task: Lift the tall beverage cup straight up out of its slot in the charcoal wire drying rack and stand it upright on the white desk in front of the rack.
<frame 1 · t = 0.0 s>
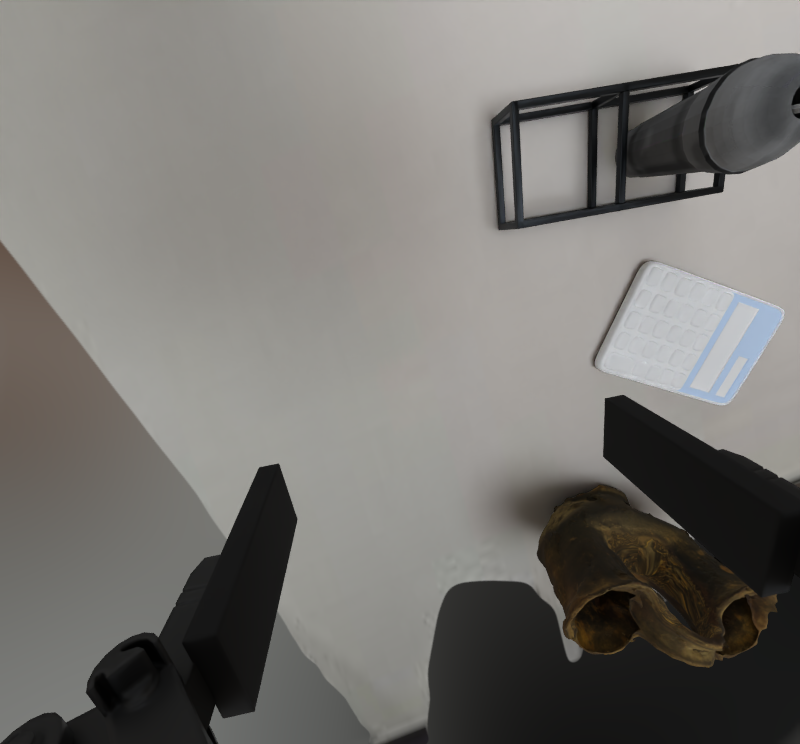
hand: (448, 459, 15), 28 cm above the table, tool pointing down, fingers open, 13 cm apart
rack: (590, 161, 38), on the table
pottery vessel: (585, 511, 53), on the table
calculator: (681, 336, 46), on the table
beverage cup: (635, 153, 38), resting in rack
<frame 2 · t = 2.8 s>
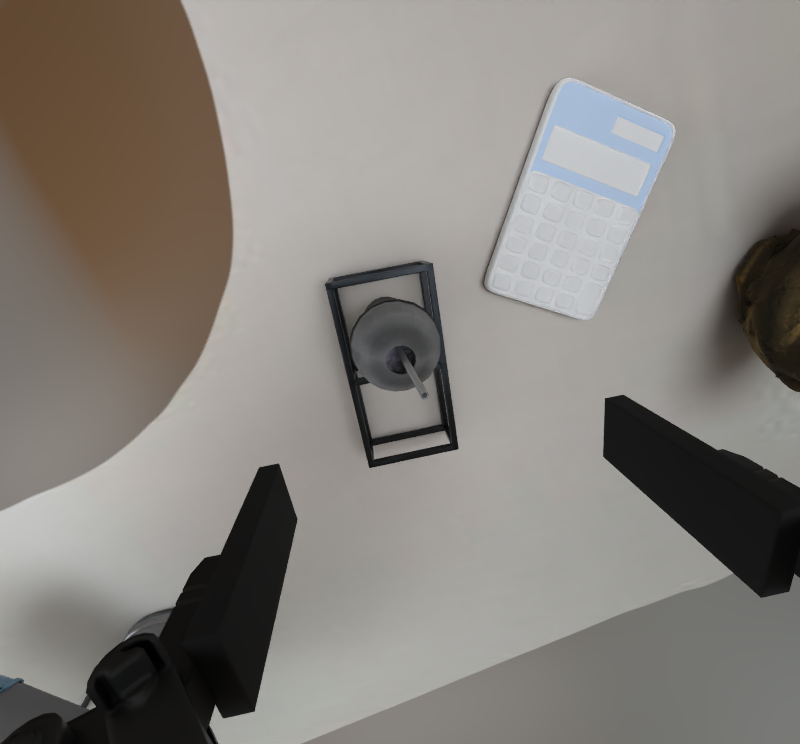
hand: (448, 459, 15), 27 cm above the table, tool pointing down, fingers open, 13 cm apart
rack: (393, 359, 42), on the table
pottery vessel: (765, 284, 44), on the table
calculator: (569, 212, 39), on the table
beverage cup: (385, 317, 40), resting in rack
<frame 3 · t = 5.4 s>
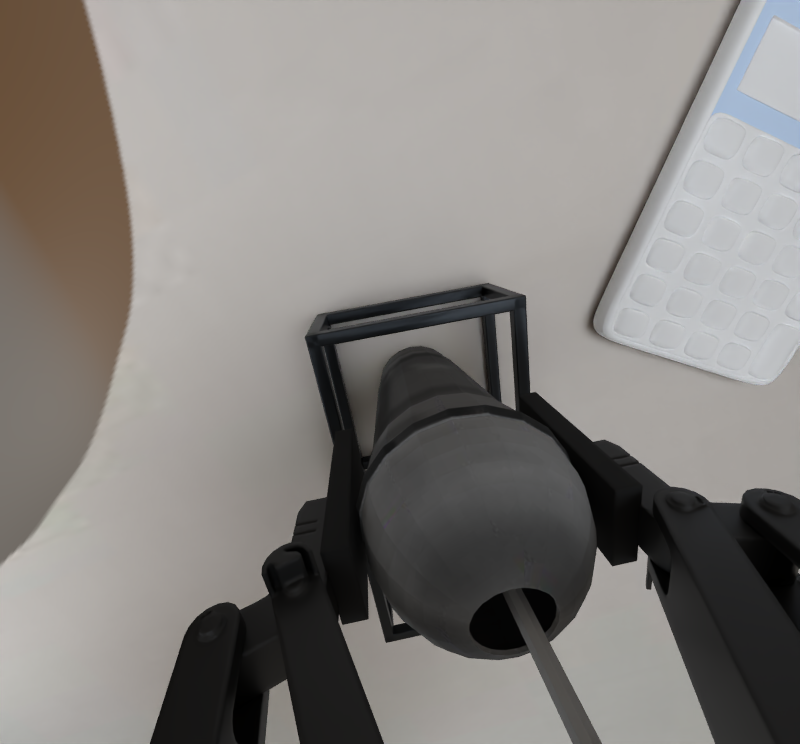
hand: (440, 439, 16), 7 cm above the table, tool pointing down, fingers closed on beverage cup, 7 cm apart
rack: (428, 447, 25), on the table
calculator: (754, 197, 21), on the table
beverage cup: (416, 380, 23), resting in rack, touching gripper
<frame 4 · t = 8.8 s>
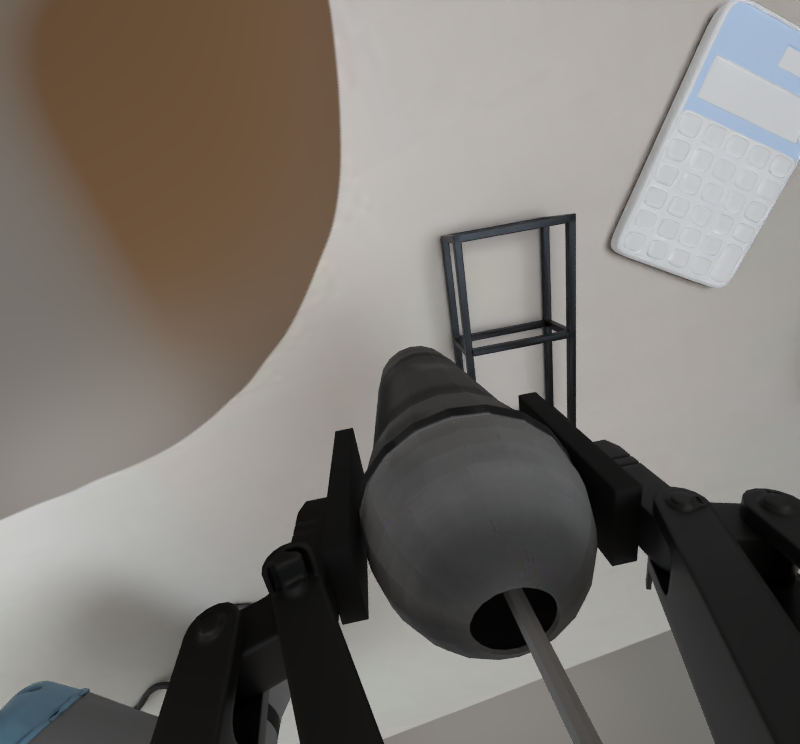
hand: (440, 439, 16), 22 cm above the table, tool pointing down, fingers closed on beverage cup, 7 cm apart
rack: (501, 330, 38), on the table
calculator: (712, 163, 34), on the table
beverage cup: (416, 379, 23), point 14 cm above the table, touching gripper
when the fingers open (7 cm above the table, at t = 12.4 s): beverage cup stays where it is, on the table.
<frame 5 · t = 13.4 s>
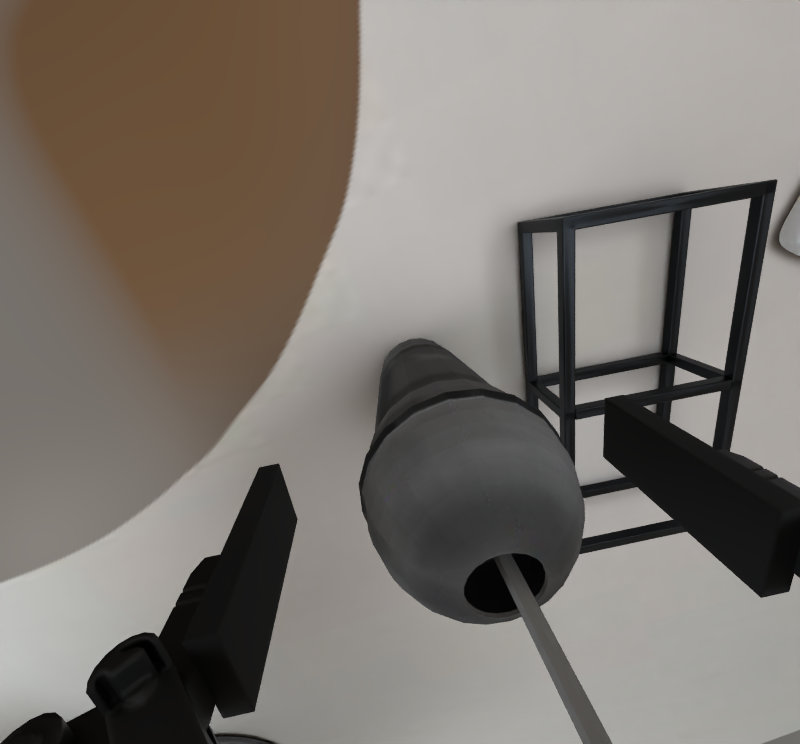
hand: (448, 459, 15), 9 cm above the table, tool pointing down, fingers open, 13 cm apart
rack: (598, 368, 25), on the table
beverage cup: (417, 371, 24), on the table
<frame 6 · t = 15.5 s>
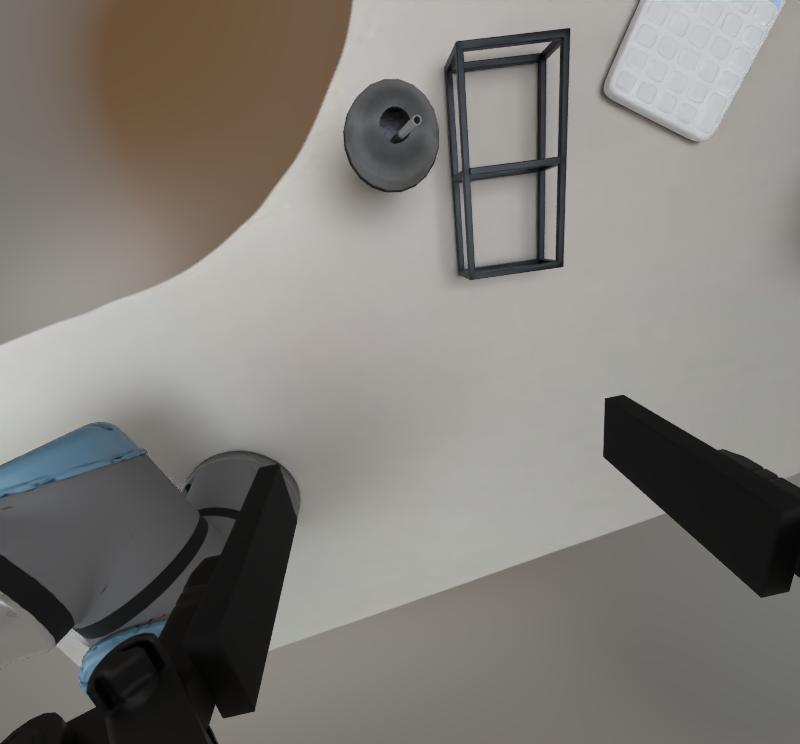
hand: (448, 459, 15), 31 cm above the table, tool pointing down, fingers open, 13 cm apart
rack: (497, 174, 40), on the table
calculator: (701, 11, 37), on the table
beverage cup: (384, 166, 39), on the table
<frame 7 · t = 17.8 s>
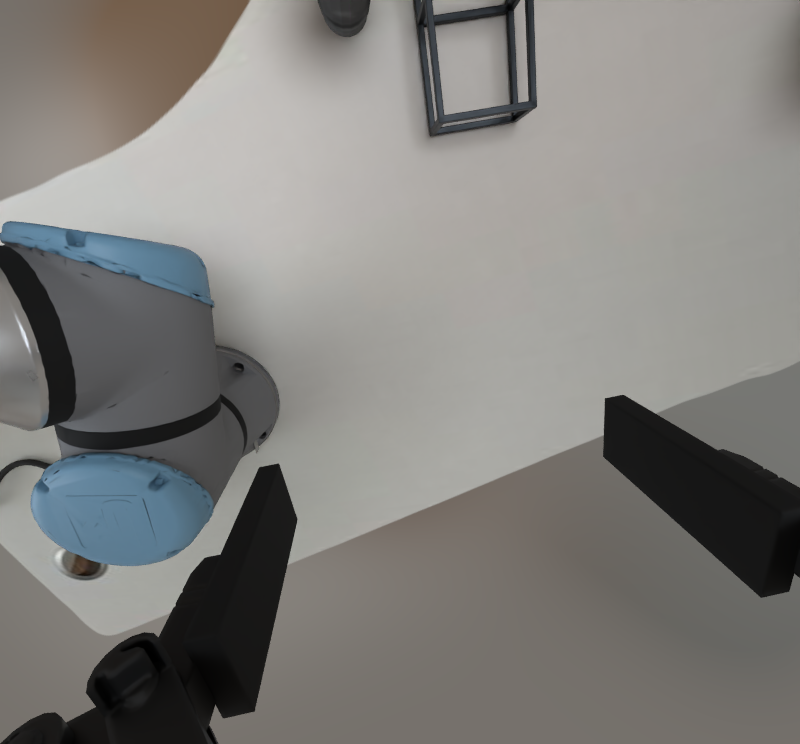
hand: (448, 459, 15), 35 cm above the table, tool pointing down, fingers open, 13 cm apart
rack: (464, 17, 38), on the table
beverage cup: (344, 9, 37), on the table
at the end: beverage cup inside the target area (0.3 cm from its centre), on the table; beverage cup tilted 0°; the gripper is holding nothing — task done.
